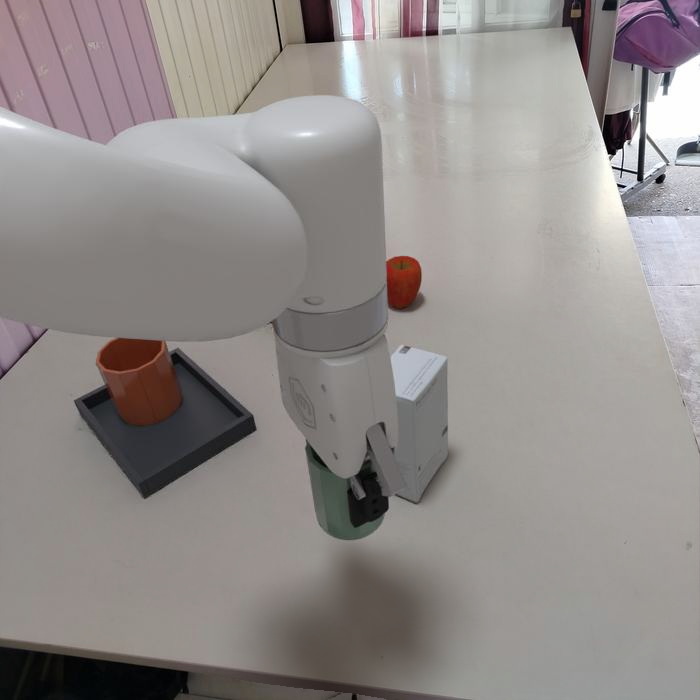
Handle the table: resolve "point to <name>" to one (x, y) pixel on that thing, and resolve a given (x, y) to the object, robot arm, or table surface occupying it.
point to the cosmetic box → (420, 416)
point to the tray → (169, 428)
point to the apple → (403, 280)
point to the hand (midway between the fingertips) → (348, 487)
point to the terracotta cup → (140, 379)
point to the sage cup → (335, 499)
